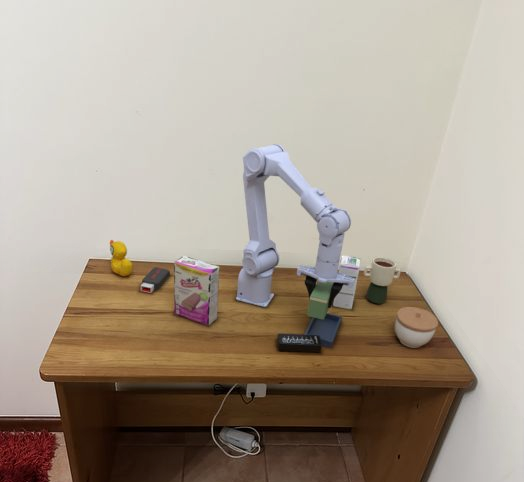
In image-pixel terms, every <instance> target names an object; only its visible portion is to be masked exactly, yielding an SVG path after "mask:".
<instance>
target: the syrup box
mask: <svg viewBox="0 0 524 482" xmlns="http://www.w3.org/2000/svg"><path fill="white" fill-rule="evenodd" d="M360 267H361V257H356V256H353V255H351V256H350V255H341V256H340V261H339V266H338V272H339V273H341V274H343V275H346V276H348V277H351V278H354V283H353V286H352V288H349V287H348V286H346V285H343V287H342V289H341V291H340V292H339V293H338V294H337V296H336V297H335V299H334V300H333V303H332V306H333V307H336V308H338V309H339V308H340V309H346V310H352V309H353V306H354V305H353V304H354V300H355V295H356V290H357V285H358V279H359V274H360Z"/></svg>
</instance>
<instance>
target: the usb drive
mask: <svg viewBox="0 0 524 482" xmlns="http://www.w3.org/2000/svg"><path fill="white" fill-rule="evenodd" d="M170 276H171V271H170V270H169V269H167V268H162V267H157V266H155V267H153V268H152V269H151V270H150V271H149V272H148V273H147V274H146V275H145V276H144V277H143V278H142V279H141V285H139V286H140V292H144V293H149V294H152V293H153V292H155V291H158V290H160V288H161V287H162V286H163V285H164V284H165V283H166V281H168V279H169V278H170Z"/></svg>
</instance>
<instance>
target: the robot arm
mask: <svg viewBox="0 0 524 482" xmlns="http://www.w3.org/2000/svg"><path fill="white" fill-rule="evenodd" d="M242 162H243V174H242V182H243V191H244V200H245V209H246V210H245V211H246V217H247V227H248V237H249V241H248V242H247V244H246V246H245V247H244V249H243V257H242V268H241V269H240V271H239V274H238V277H237V288H236V297H235V300H236V301H238V302H243V303H245V304H246V303H247V304H251V305H254V306H258V307H262V308H267V307H268V305H269V304H270V302H271V301H272V299H273V298H274V296H275V293H273V292H271V289H272V282H273V281H272V280H273V272H274V271H275V268H276V267H278V265H279V263H280V254H279V252H278V250H277V245H276V243H275V241H273V240H272V239H271V238H270V232H269V231H270V230H269V220H268V208H267V199H266V189H265V188H266V187H265V182H266V181H267V180H268V178H269V177H279V178H280V179H281V180H282V181H283V182H284V183H285V184H286V185H287V186H288V187H289V188H290V189H291V190H292V191H294V192H295V194H297V195H298V196H299V198H300V205H301V207H302V208H303V209H304V210H305V211H306V212H307V214H308V215H309V216H310V217H311V218H312V219H313V220H314V221H315V222H316V228H317V231H318V234H319V236H318V241H319V242H318V247H317V255H316V260H315V266H303V265H299V266H298V267H297V269H296V276H298V277H301V276H304V277H305V279H304V285H305V287H306V290H307V293H308V299H309V300H308V301H310V296H311V294H312V292H313V290H314V288H315V286H316V284H317V283H318V281H319V282H322V283H326V282H333V285H332V287H331V294H330V300H329V303H328V308H329V309H331V308H332V306H333V302H334V299H335V297H336V296H337V294H338V293H339V292H340V291H341V289H342V287H343V285H346V286H348V287H349V288H352V286H353V283H354V278H351V277H348V276H346V275H343V274H341V273H339V266H340V261H341V257H342V250H343V244H344V239H345V233H346V232H347V231H349V229H350V228H351V226H352V219H351V217H350V214H349V213H348V211H347V210H346V209H344V208H339V207H337V206H336V204H333V202H331V201H330V199H329V198H328V197H327V196H326V195H325V192H324V191H323V189H320V188H318V187H311V186H310V184H309V183H308V182H307V180H306V178H304V176H302V174H301V173H300V171H299V170H298V169H297V168H296V166H295V164H293V162H292V161H291V159H290V154H289V152H287V150H285V149H284V147H283V146H282V145H280V144H279V143H274V144H271V145H266V146H262V147H253V148H250V149H249V150H247V152H246V153H245V154H244V156H243V157H242Z"/></svg>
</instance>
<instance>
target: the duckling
mask: <svg viewBox="0 0 524 482" xmlns="http://www.w3.org/2000/svg"><path fill="white" fill-rule="evenodd" d="M109 251H110V254H111V256H112V257H111V258H110V268H111V271H113V272H114V273H115V274H118V275H119V276H122V277H127V276H130V275H131V274H132V273H133V268H134V265H133V263H132V262H131V260H130V259H129V258H126V256H127V254H128V248H127V246H126V244H125V243H124V242H122V241H120V240H117V241H114V240H113V239H111V240H109Z"/></svg>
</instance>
